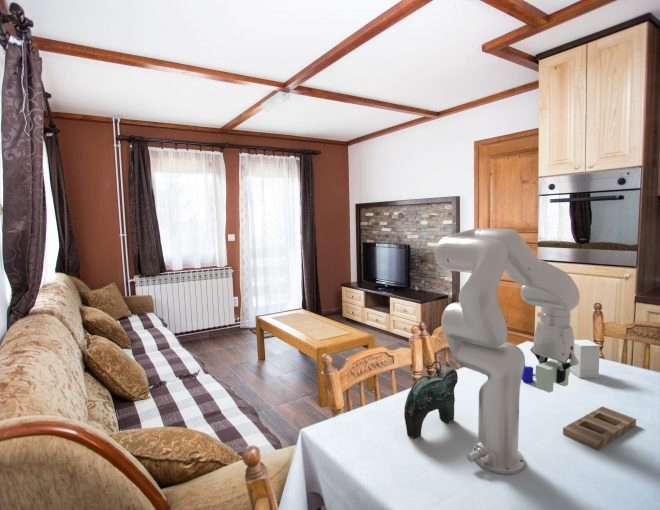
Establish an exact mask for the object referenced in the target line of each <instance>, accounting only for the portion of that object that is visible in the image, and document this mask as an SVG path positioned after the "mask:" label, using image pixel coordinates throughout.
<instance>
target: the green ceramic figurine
mask: <svg viewBox="0 0 660 510" xmlns="http://www.w3.org/2000/svg"><path fill="white" fill-rule="evenodd" d="M436 363H438V364H439V365H438V366H434V365H435V364H436ZM430 367H431V368H432V367H433V368H434V369H435V370H434V372H433V375H422V376H420V377H419V378H417V379H416V380H414V381H413V384H412V385H411V388H410V390H409V392H408V394H407V398H406V400H405V404H404V412H403V413H404V415H403V416H404V421H405V422H404V423H405V427H406V435H407V436H408V437H410V438H411V439H413V440H415V439H418V438H420V437H421V436H422V428H423V423H424V421H425V419H426V417H427V415H428V414H429V413H431V412H434V411H436V410H437V411H438V415H439V416H438V417H439V420H440V421H442V422H444V423H445V424H449V423H450V422H452V421H454V420H455V401H456V397H455V387H456V386H457V383H458V379H459V377H458V372H457V370H456V369H454V368H452V367H451V366H450V363H449V362H448V361H446V363H445V365H442V364H441V362H440V361H438V360H435V361H433V362H431V365H430Z"/></svg>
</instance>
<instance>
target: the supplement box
mask: <svg viewBox="0 0 660 510" xmlns="http://www.w3.org/2000/svg"><path fill="white" fill-rule="evenodd" d="M600 347H601V346H600V345H599V344H597V343H596V342H593V341H591V340H589V339H574V354H575V356H576V358H577V360H578V361H579V364H577V365H574V366H571V367H570V373H571V374H573V375H575V376H576V377H578V378H579V379H591V378H592V379H593V378H594V379H595V378H597V379H598V378H599V370H600ZM568 362H571V360H570V359H568Z"/></svg>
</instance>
